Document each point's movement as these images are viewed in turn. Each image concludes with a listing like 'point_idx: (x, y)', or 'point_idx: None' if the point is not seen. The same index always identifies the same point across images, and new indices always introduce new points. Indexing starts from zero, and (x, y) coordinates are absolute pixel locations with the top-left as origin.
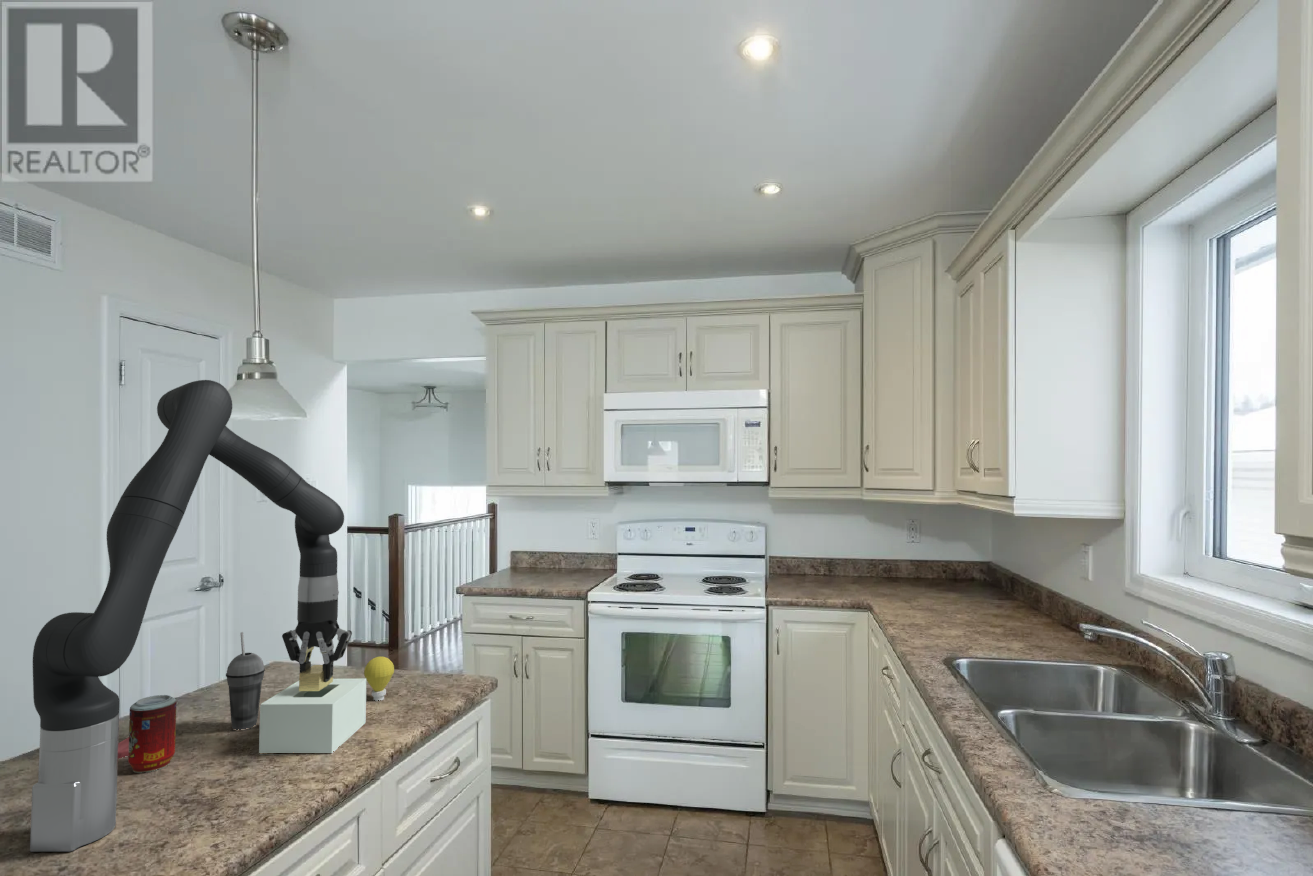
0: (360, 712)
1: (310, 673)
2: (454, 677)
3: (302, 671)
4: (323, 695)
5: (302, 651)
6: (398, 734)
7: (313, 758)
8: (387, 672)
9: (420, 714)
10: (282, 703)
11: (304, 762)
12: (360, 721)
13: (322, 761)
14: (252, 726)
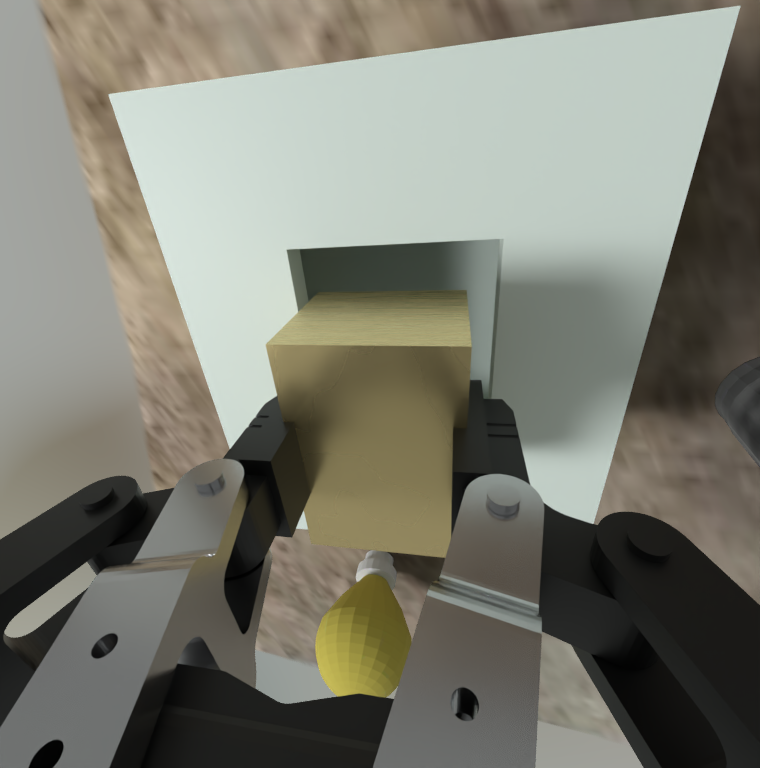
0: None
1: (351, 346)
2: (274, 643)
3: (482, 425)
4: None
5: (490, 615)
6: (159, 320)
7: (310, 61)
8: (321, 625)
9: (202, 458)
10: (514, 64)
11: (322, 3)
12: None
13: (252, 28)
14: (728, 382)
